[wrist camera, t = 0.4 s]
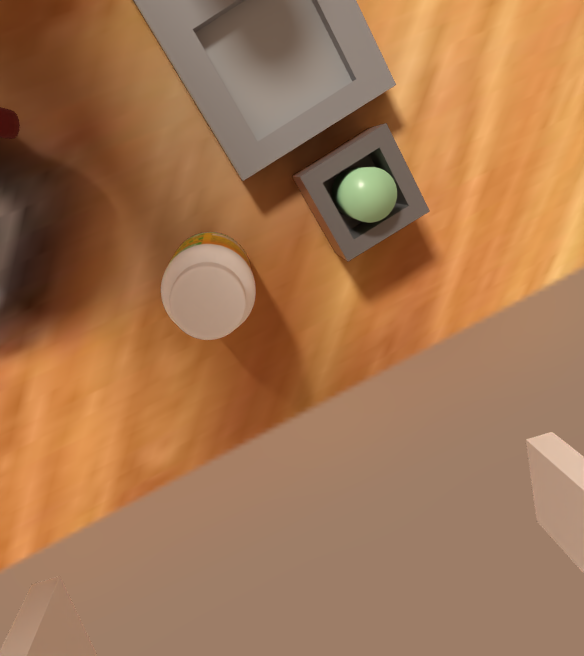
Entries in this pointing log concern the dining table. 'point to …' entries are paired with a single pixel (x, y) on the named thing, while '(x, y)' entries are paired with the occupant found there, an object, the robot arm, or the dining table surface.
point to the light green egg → (364, 193)
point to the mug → (8, 123)
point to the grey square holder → (357, 152)
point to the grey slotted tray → (269, 68)
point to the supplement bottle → (208, 286)
